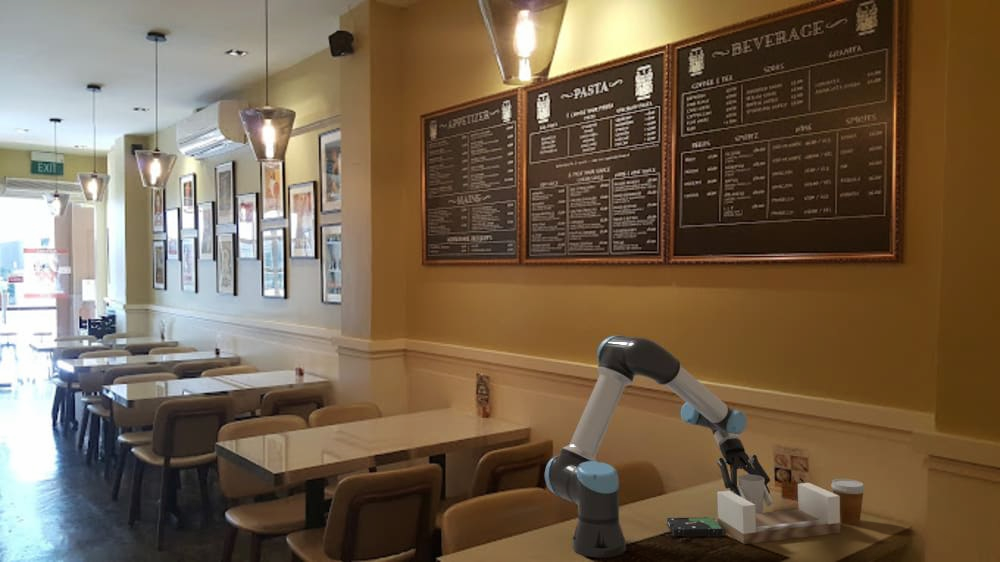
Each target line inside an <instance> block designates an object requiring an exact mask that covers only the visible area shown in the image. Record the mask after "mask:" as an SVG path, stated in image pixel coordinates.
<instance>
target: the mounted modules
mask: <svg viewBox="0 0 1000 562" xmlns="http://www.w3.org/2000/svg"><path fill="white" fill-rule="evenodd" d="M716 493H717V495H716V496H717V498H716V499H717V519H718V518H719V519H721V520H722V521H724V522H725V523H727V524H729V525H730V526H732V527H733V528H735V529H737V530H738V531H740V532H741V533H743V534H747V533H755V532H756V515H755V504H753V503H751V502H749V501H747V500H746V499H744V498H742V497H740V496H738V495H736V494H735V493H734V492H733V491H731V490H723V491H722V490H721V491H717V492H716ZM797 501H798V502H797V503H798V506H797V509H799V510H801V511H803V512H805V513H807V514H809V515H811V516H813V517H815V518H817V519H819V520H821V519H824V520H826V521H827V524H834V523H840V524H841V522H840V496H838V495H836V494H834V493H833V491H832V492H831V491H829V490H827V489H824V488H822V487H820V486H817V485H815V484H813V483H810V482H803V483H801V482H800V483H797Z"/></svg>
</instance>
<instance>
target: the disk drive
mask: <svg viewBox="0 0 1000 562" xmlns="http://www.w3.org/2000/svg"><path fill="white" fill-rule="evenodd" d="M666 525H667V527H668V529H669V531H670V533H671V532H672V533H671V534H672V535H673V537H674V536H683V537H724V531H723V528H722V527H721V525H720V524H719V523H718V520H716V518H715V517H667V518H666ZM703 535H704V536H703ZM708 535H710V536H708Z"/></svg>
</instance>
